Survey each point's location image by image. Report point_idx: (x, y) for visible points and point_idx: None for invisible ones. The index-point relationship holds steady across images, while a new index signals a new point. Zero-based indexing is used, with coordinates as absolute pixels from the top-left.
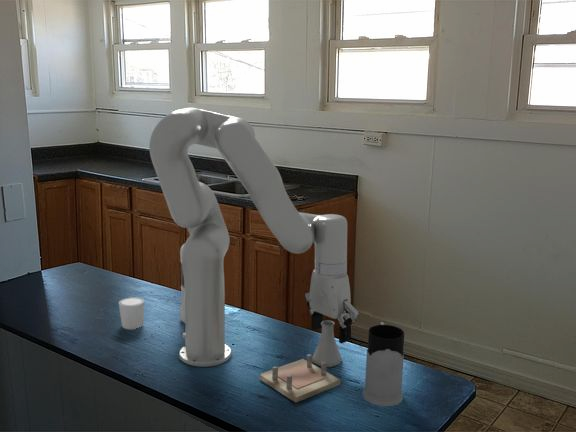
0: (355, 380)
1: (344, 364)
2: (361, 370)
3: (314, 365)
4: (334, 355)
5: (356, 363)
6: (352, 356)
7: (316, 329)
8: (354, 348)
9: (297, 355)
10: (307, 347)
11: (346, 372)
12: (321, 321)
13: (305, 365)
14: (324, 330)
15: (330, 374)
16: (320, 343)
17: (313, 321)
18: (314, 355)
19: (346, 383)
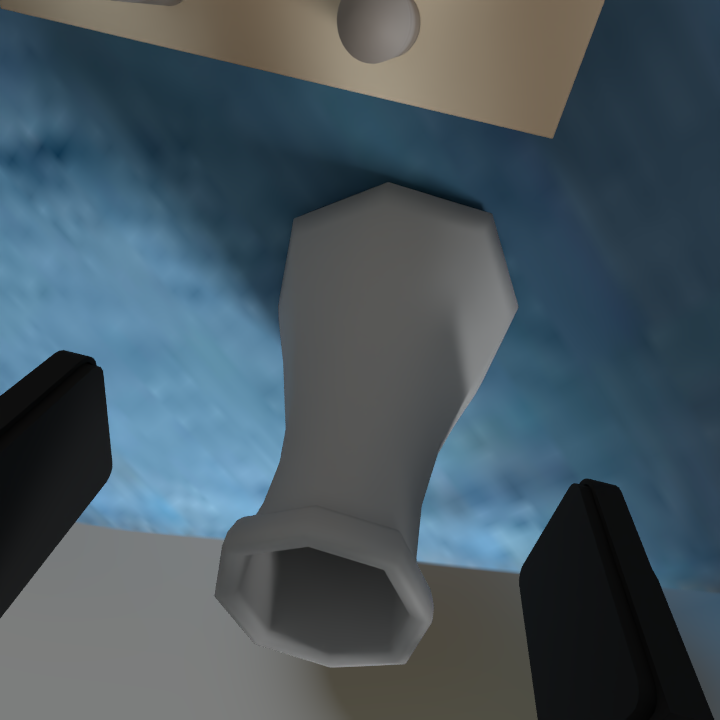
0: (38, 172)
1: (263, 332)
2: (131, 325)
3: (365, 91)
4: (285, 319)
5: (220, 386)
6: None
7: (556, 511)
8: None
9: (672, 239)
10: (650, 405)
11: (168, 238)
12: (535, 642)
13: (440, 13)
14: (335, 465)
15: (130, 34)
16: (405, 335)
17: (618, 596)
18: (463, 246)
19: (31, 74)
